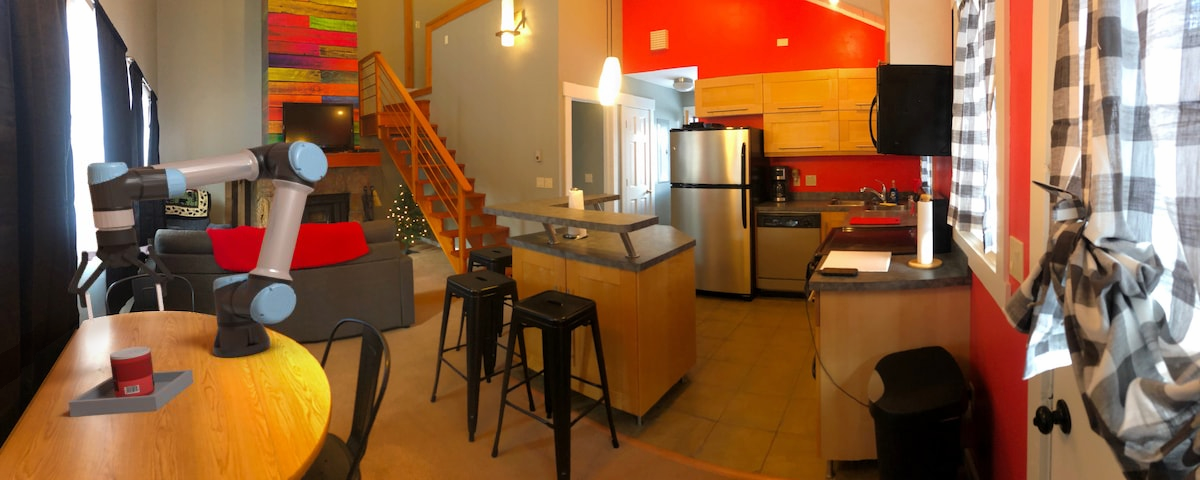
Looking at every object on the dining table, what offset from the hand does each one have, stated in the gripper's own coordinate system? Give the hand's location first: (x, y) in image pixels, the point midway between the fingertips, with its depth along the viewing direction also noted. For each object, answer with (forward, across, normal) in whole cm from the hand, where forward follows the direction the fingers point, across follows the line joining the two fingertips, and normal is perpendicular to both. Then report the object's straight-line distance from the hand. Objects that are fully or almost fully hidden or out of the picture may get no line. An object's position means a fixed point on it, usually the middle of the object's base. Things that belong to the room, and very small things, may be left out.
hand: (127, 315), depth 152 cm
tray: (+21, +1, +1) cm, 21 cm away
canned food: (+20, 0, +1) cm, 20 cm away
